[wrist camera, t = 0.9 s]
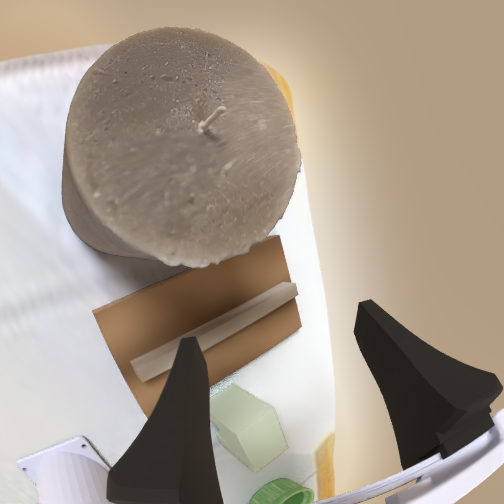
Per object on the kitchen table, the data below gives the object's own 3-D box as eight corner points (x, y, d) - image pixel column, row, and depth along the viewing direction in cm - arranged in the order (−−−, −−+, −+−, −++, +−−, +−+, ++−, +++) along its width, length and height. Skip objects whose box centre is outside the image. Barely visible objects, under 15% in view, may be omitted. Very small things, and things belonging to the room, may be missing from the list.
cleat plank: (293, 324, 31) (313, 329, 29) (144, 413, 21) (156, 430, 19) (271, 235, 29) (291, 234, 27) (92, 310, 19) (96, 319, 17)
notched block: (249, 423, 28) (288, 448, 23) (220, 443, 26) (255, 473, 21) (233, 383, 27) (273, 407, 22) (199, 404, 24) (235, 434, 20)
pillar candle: (66, 131, 17) (100, -15, 5) (180, 137, 23) (312, 50, 11) (62, 260, 18) (57, 287, 6) (181, 252, 24) (331, 258, 12)
